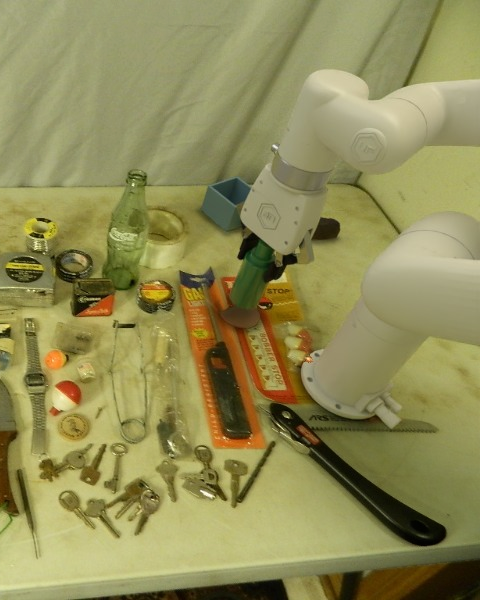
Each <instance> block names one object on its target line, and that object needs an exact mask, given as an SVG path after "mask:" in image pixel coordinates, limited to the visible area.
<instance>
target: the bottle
mask: <svg viewBox="0 0 480 600" xmlns="http://www.w3.org/2000/svg"><path fill="white" fill-rule="evenodd" d="M275 257H276V250H274V249H273V248H272V247H271V246H269V245H268V244H267V243H266V242H264V241H263V240H262V239H261V238H260V239H259V242H258V244H257V247H254V248H253V249H251V250H249V251H247V252H246V254H245V256H244V259H243V260H241V264H240V266H239V269H238V271H237V274H236V276H235V278H234V281H233V284H232V286H231V289H230V291H229V293H228V296H229V297H228V298H229V300H230V302H231V303H232V304H233V306H234V305H236V306H238V307H240V308H242V309H253V308H255V307H256V308H257V307H258V306H259V304H260V302H261V300H262V298H263V296H264V293H265V291H266V289H267V287H268V285H269V283H270V282H268V283H265V282H264V281H263V277H264V275H265V273H266V271H267V269H268V267H269V264H270V263H271V262H272V261H275Z"/></svg>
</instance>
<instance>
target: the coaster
mask: <svg viewBox="0 0 480 600" xmlns="http://www.w3.org/2000/svg"><path fill="white" fill-rule="evenodd" d="M218 314H219V316H220V318H221V319H222V320H223V321H224V322H225V323H226V324H228V325H230V326H231V327H234V328H238V329H241V330H242V329H243V330H244V329H251V328H254V327H255V326H256V325H257V324H258V323H259V321H260V317H261V314H260V312H259V309H258V308H257V307H255V308H253V309H242V308H240V307H238V306H236V305H234V304H233V305H232V306H230V307H228V308H225V309H224V310H218Z"/></svg>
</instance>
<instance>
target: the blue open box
mask: <svg viewBox="0 0 480 600" xmlns="http://www.w3.org/2000/svg"><path fill="white" fill-rule="evenodd" d="M252 187H253V186H251V185H250V184H248V183H247V182H246V181H244V180H243V179H242V178H241V177H239V176H238V175H236V176H232V177H230V178H227V179H224V180H221V181H218V182H215V183H211V184H208V185H207V188H206V190H205V194H204V198H203V201H202V204H201V208H200V210H201V212H202V213H204V214H205V215H206V216H207V217H208V218H210V219H211V220H212V221H213V222H215V224H217V225H218V226H219V227H220V228H221V229H223V230H224V231H225V232H227V233H228V232H230V231H232V230H235V229H238V228H241V227H242V224H241V221H240V219H241V218H240V215H239V213H238V210H237V204H239V203H242V202H244V201H246V199H247V197H248V195H249V192H250V190H251V188H252Z"/></svg>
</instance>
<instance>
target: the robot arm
mask: <svg viewBox="0 0 480 600" xmlns="http://www.w3.org/2000/svg"><path fill="white" fill-rule="evenodd" d="M369 98H370V89H369V85H368V84H367V83H366V81H365V80H364V79H362V78H361V77H360V76H357V75H356V74H353V73H351V72H348V71H345V70H341V69H335V68H334V69H331V68H325V69H318V70H316V71H314V72H312V73H311V74H309V76H308V77H307V78H306V79H305V81H304V83H303V85H302V87H301V89H300V92H299V94H298V97H297V99H296V102H295V104H294V107H293V110H292V112H291V114H290V117H289V120H288V123H287V125H286V128H285V130H284V133H283V135H282V138H281V140H280V142H274V143H273V144H272V145H271V147H270V151H271V152H272V153H273V155H274V156H273V159H272V161H271V162H270V161H269V162H268V163H266V165H265V166H264V167H263V169H262V171H261V172H260V173H259V175H258V176H257V178H256V180H255V181H254V183H253V185H252V186H251V187H252V188H251V190H250V192H249V195H248V197H247V199H246V201H244V202H242V203H239V204H237V210H238V213H239V215H240V218H241V219H240V221H241V224H242V226H241V227H242V231H241V237H242V238H243V239H242V241H241V244H240V246H239V251H238V254H237V256H236V259H237V260H238V261H243V259H244V256H245V254H246V252H247V251H249V250H251V249H253V248H254V247H257V244H258V242H259V239H260V238H261V239H262V240H263V241H264V242H266V243H267V244H268V245H269V246H271V247H272V248H273V249H274V250H276V251H275V256H276V257H275V261H272V262H271V263H270V264H269V267H268V269H267V271H266V273H265V275H264V277H263V281H264V282H265V283H268V282H269V283H270V282H272V281H278V280H279V279H280V278H282V276H283V274H284V272H285V270H286V268H287V267H288V266H294V265H310V264H311V263H313V262H314V261H315V254H314V248H313V242H312V240H311V238H312V236H313V234H314V232H315V230H316V228H317V225H318V223H319V220H320V218H321V217H322V215H323V212H324V208H325V206H326V202H327V198H328V194H329V188H328V187H327V184H328V183H329V181H330V178H331V176H332V175H333V172H334V170H335V169H336V166H337V164H338V162H339V160H340V159H341V160H343V161H344V162H345V163H346V164H347V165H349V166H350V167H352V168H353V169H355V170H357V171H359V172H361V173H364V174H367V175H373V176H374V175H375V176H379V175H384V174H389V173H392V172H393V171H395V170H397V169H398V168H400V167H401V166H402V165H403V164H405V163H407V161H408V160H410V159H411V158H412V157H414V156H415V155H416V154H418V152H419V151H421V150H422V149H423V148H424V147H442V146H443V147H474V148H480V78H476V79H475V78H474V79H473V78H472V79H459V80H446V81H433V82H422V83H415V84H411V85H407V86H403V87H401V88H398V89H396V90H394V91H392V92H391V93H389V94H387V95H385V96H383V97H382V98H381V99H369ZM297 249H299V252H298V253H296V250H297ZM269 283H268V284H269ZM429 337H431V338H436V339H441V340H446V341H450V342H454V343H455V342H456V343H460V344H465V345H469V346H476V347H480V220H478V219H476V218H475V217H473V216H471V215H469V214H467V213H463V212H460V211H453V210H452V211H451V210H449V211H448V210H445V211H438V212H433V213H430V214H427V215H424V216H422V217H420V218H419V219H416V220H415V221H413V222H412V223H410V225H408V226H407V227H406V228H405V229H404V230H403V231H401V233H399V234H398V235H397V236H396V237H395V238H394V239H393V240H392V241H391V242H390V243H389V245H388V246H387V247H386V248H384V250H382V251H381V252H380V253H379V254H378V255H377V257H375V258H374V260H373V261H372V262H371V263H370V264H369V265H368V267H367V268H366V270H365V271H364V273H363V275H362V278H361V281H360V296H359V297H358V298H357V300H356V302H355V303H354V304H353V305H352V307H351V309H350V310H349V312H348V313H347V315H346V316H345V318H344V320H343V321H342V323H341V325H340V326H339V327H338V329H337V330H336V332H335V333H334V335H333V336H332V338H331V339H330V341H329V342H328V344H327V345H326V347H325V348H321V349H317V350H314V351H312V352H311V353H309V354H310V356H311V357H312V359H313V362H311V363H310V362H309V363H308V362H304V361H303V363H302V365H301V368H300V378H301V381H302V385H303V387H304V388H305V390H306V392H307V393H308V395H309V396H310V397H311V398H312V399H313V400H314V401H315V402H316V403H317V404H319V406H321V407H322V408H323V409H325V410H327V411H328V412H330V413H332V414H334V415H335V416H339V417H342V418H345V419H351V420H365V419H369V418H372V417H374V416H377V417H378V418H379V419H380V420H381V421H382V422H383V424H385V426H387V428H389V429H390V430H393V428H395V427H397V425H399V424H400V423H401V421H402V419H401V418H400V417H399V416H398V415H397V414H399V413H400V412H401V411H402V410H403V409H404V407H403V405H401V404H400V403H399V402H398V401H397V400H395V399H394V398H392V397H391V393H390V392H389V391H390V390H391V389H392V388H393V387H394V386H395V384H394V382H392V380H393V378H394V377H395V376H396V375H397V374H398V372H400V370H401V369H402V368H403V367H404V366H405V365H406V364H407V362H408V361H409V360H410V359H411V358H412V356H413V355H414V354H415V353H416V352H417V351H418V350H419V348H420V347H421V346H422V345H423V344H424V343H425V342H426V341H427V340H428V339H429ZM386 406H387V407H386Z"/></svg>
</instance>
